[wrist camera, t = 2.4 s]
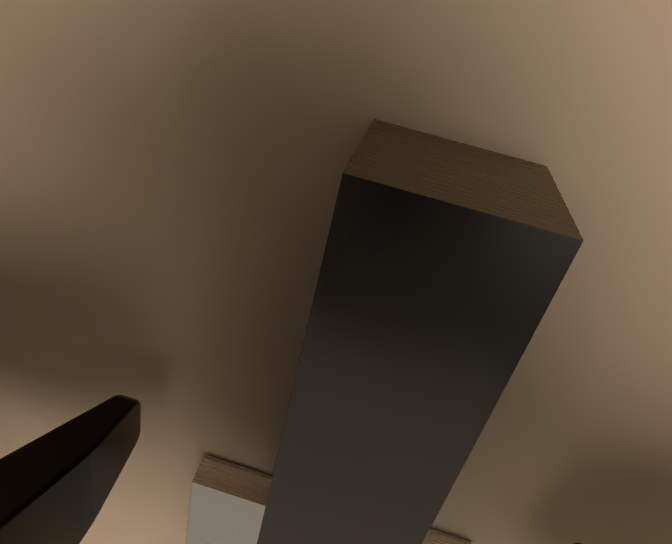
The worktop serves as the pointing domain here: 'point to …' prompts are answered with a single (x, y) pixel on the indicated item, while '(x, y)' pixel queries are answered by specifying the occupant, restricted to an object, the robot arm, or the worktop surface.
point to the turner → (400, 345)
